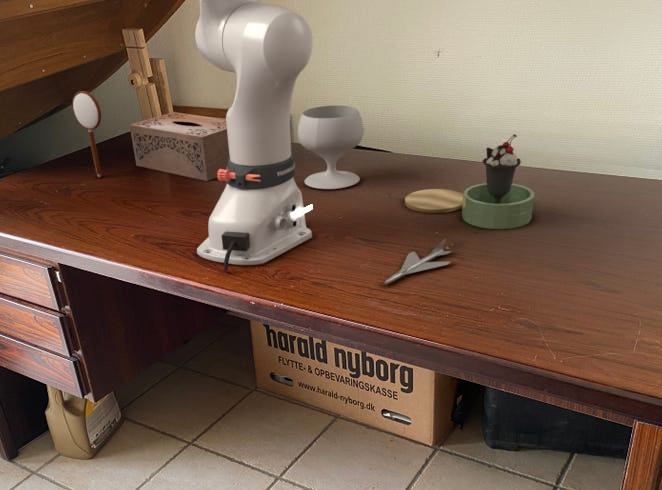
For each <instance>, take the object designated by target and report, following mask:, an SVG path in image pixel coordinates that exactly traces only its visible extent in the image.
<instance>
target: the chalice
mask: <svg viewBox="0 0 662 490" xmlns="http://www.w3.org/2000/svg"><path fill="white" fill-rule="evenodd" d="M364 130H365V128H364V123H363V118H362V116H361V113H360V112H359V110H358V109H357V108H356V107H353V106H350V105H336V104H335V105H322V106H316V107H312V108H311V107H310V108H308V109H306V110H304V111H303V112H302V113H301V116H300V118H299V121H298V127H297V139H298V141H299V144H300V145H301V146H302V147H303V148H304V149H306V150H307V151H309V152H311V153H313V154H314V155H317V156H319V157H320V158H322V159H323V160H324V161H325V163H326V166H327V168H326V170H325V171H320V172H315V173H313V174H310V175H309V176H307V177H306V178H305V179H304V184H305V185H306V186H308V187H310V188H315V189H320V190H322V189H323V190H336V189H343V188H347V187H351V186H353V185H356V184H357V183H359V182H360V180H361V178H360V176H359V175H357V174H356V173H354V172H351V171H345V170H337V162H338V160H339V159H340V158H341V157H342V156H343V155H345V154H346V153H348V152H350V151H351V150H353V149H354V148H356V147H357V146H358V145H360V143H361V142H362V141H363V137H364V133H365V131H364Z"/></svg>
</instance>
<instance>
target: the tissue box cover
mask: <svg viewBox="0 0 662 490" xmlns="http://www.w3.org/2000/svg"><path fill="white" fill-rule="evenodd" d="M129 131H130V135H131V141H132V147H133V153H134V159H135V164H136V165H135V166H136V167H137V166H138V167H141V168H146V169H150V170H154V171H160V172H164V173H168V174H172V175H177V176H183V177H186V178H187V177H188V178H191V179H196V180H200V181H203V182H204V181H205V182H209V181H212V180H214V179H216V178H217V179H218V177H217V173H218V170H219V169H224V170H227V165H228V160H229V158H230V154H229V145H228V135H227V125H226V118H218V117H210V116H204V115H197V114H191V113H190V114H188V113H183V112H177V111H172V112H168V113H166V114H162V115H159V116H156V117H151V118H148V119H145V120H142V121H138V122H135V123H131V124H129Z"/></svg>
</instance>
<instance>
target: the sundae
mask: <svg viewBox="0 0 662 490" xmlns="http://www.w3.org/2000/svg"><path fill="white" fill-rule="evenodd" d="M517 137H518V135H517V134H514V133H513V134H512V136H511V137H510V138H509V139H508V140H507V141H504V142H503V143H502V144H500V145H497V146H495V147H494V148H491V147H486V157H485V158H483V160H481V162H482V164H483V165H484V166H485V178H486V183H487V189H488V192H489V193H490V194H491V195H492V196H493V197H494V198H495V199H494V204H500V203H501V198H502V197H503V196H505V195H506V194H507V193H508V192H509V191H510V188H511V185H512V184H513V181H514V176H515V172H516V169H517V167H520V165H521V164H522V163H521V162H522V161H521V158H519V157H517V154H515V153H514V150H515V149H514V147H512V145H511V144H512V141H513V140H514V139H515V138H517Z"/></svg>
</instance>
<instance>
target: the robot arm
mask: <svg viewBox="0 0 662 490" xmlns="http://www.w3.org/2000/svg"><path fill="white" fill-rule="evenodd" d="M198 2H199V18H198V21H197V23H196V25H195V26H196V27H195V35H194V37H195V43H196V47H197V49H198V51H199V53H200V54H201V56H202V57H203V58H204V59H205V60H206V61H208V62H209V63H210V64H211V65H213V66H215V67H216V68H218V69H220V70H222V71H225V72H230V73H235V74H236V86H235V87H236V88H235V95H234V99H233V103H232V105H231V106H230V107H229V108H228V110H227V111H226V115H225V120H226V125H227V135H228V145H229V154H230V158H229V160H228V165H227V170H224V169H219V170H218V173H217V180H218V181H220V182H223V181H225V183H226V185H225V187H224V190H223V192H222V193H221V195H220V197H219V199H218V200H217V202H216V204H215V207H214V209H213V210H212V212H211V214H210V215H209V218H208V223H207V224H208V226H207V227H208V231H207V233H208V236H207V237H206V239H205V240H204V241H202V243H200V245H199V246H198V247H197V248H196V255H198V256H199V257H201V258H203V259H206V260H208V261H213V262H217V263H222V264H223V271H226V272H228V271H229V265H239V266H256V265H263V264H265V263H267V262H269V261H271V260H273V259H275V258H276V257H278V256H280V255H282V254H284V253H286V252H288V251H290V250H291V249H293V248H295V247H297V246H298V245H300V244H302V243H304V242H306V241H308V240H310V239H312V238H313V232H312V230H311V229H310V228H308V227H307V222H306V213H308V212H311V210H313V209H314V208H313V204H310V205H307V206H306V207H304V201H303V193H302V191H301V189H300V188H299V187H298V185H297V184H296V181H295V178H294V177H295V175H296V162H295V155H294V154H293V153H292V143H291V142H292V141H291V139H292V138H291V137H292V136H291V105H292V99H293V94H294V89H295V86H296V83H297V79H298V77H299V75H300V74H301V73H302V71H303V70H304V69H305V68H306V67H307V65H308V63H309V61H310V59H311V57H312V53H313V46H314V40H313V33H312V30H311V27H310V25H309V24H308V21H307V20H306V18H304V17H303V16H302V15H300V14H299V13H297V12H295V11H293V10H291V9H289V8H287V7H285V6H283V5H281V4H271V3H262V2H261V0H198Z"/></svg>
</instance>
